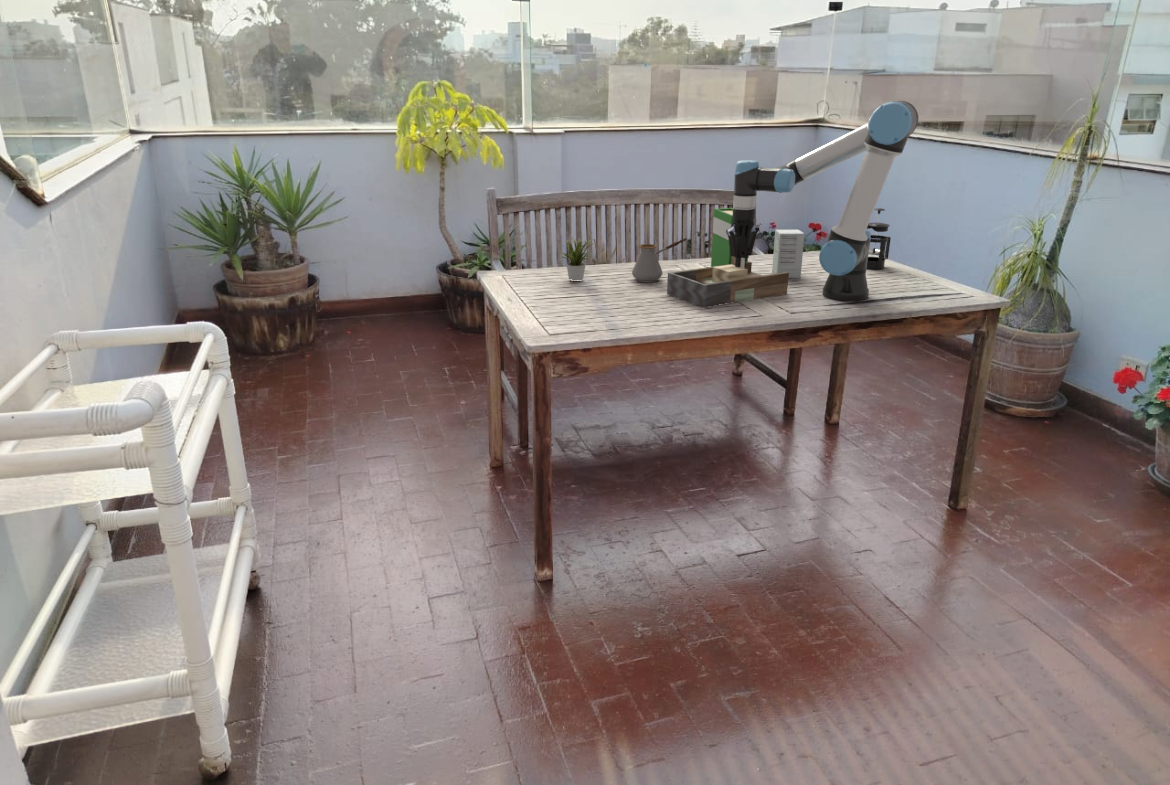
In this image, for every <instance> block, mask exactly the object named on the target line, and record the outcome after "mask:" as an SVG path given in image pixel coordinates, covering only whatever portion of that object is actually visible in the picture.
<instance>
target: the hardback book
mask: <svg viewBox="0 0 1170 785" xmlns="http://www.w3.org/2000/svg"><path fill="white" fill-rule="evenodd" d="M734 208H735V207H726V208H724V207H723V208H721V207H720V208H714V209H713V224H712V225H713V226H712V244H711V260H710V267H713V266H721V265H728V264H735V260H736V258H735V257H733V256H731V253H730V246H729V239H728V235H727V233H726V230H729V229H731V228H732V224H733V218H732V216H733V209H734ZM746 262H749V257H748V258H746Z"/></svg>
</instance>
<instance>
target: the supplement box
mask: <svg viewBox="0 0 1170 785" xmlns="http://www.w3.org/2000/svg"><path fill="white" fill-rule="evenodd" d="M773 242H774V245H773V255H772V256H773V257H772V266H771V269H772V270H771V274H776V273H783V272H788V273H789V278H788V279H801V277H802V265H803V264H802V263H803V252H804V245H805V244H804V243H805V233H804V232H803V231H801V230H800V229H775V231H774V241H773Z"/></svg>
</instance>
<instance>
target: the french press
mask: <svg viewBox="0 0 1170 785" xmlns="http://www.w3.org/2000/svg"><path fill="white" fill-rule="evenodd" d="M874 211H877V222H869V223H868V226H867V228H866V230H869V229H872V230H873V231H874V232H875V234H871V236H870V238H871V241H870V243H874V245H873V249H870V248H869V253H868V255H871V256H868V261H867V268H866V270H868V271H870V270H872V271H879V270H884V269H885V262H886V260H889V259H888V258H889V254H890V247H891V246H890V245H891V239H892V238H891V236H887V235H886V236H885V235H880V234H878V233H882V232H883V233H885V232H888V231H889V227H890V224H889V223H884V222H879V220H880V214H881V212H882V211H886V209H885V208H881V207H880V208H879V207H878V208H874ZM876 243H877V244H878V243H880V244H879V245H880V246H879V249H877V248H876ZM870 246H871V244H870V245H869V247H870ZM872 255H873V256H872ZM874 255H875V256H874Z"/></svg>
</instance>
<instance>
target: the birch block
mask: <svg viewBox="0 0 1170 785" xmlns="http://www.w3.org/2000/svg"><path fill="white" fill-rule="evenodd" d="M747 273H748V269H745V268H741V267H735V265H724V266H716V267H713V275H712V281H713V282H721V281H728V280H735V279H742V278H747Z"/></svg>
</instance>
